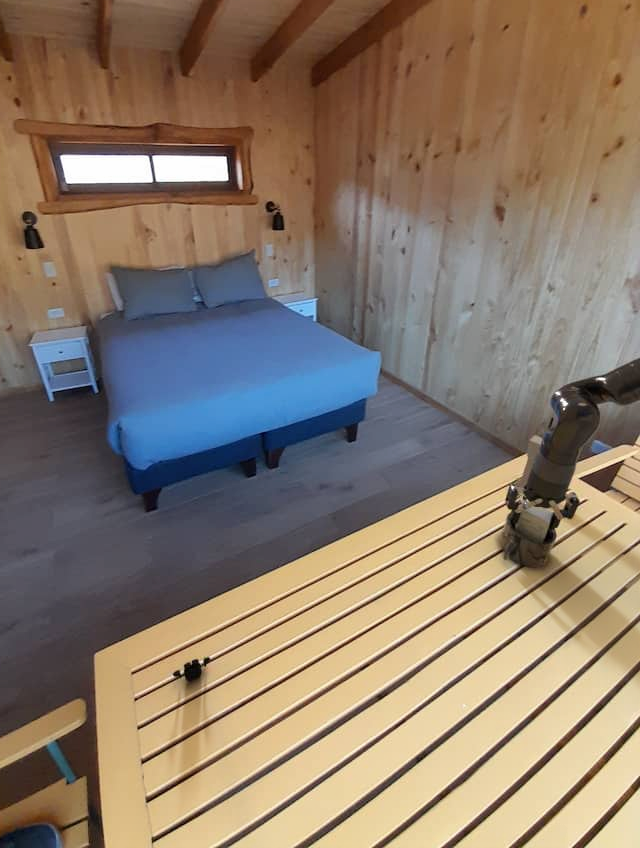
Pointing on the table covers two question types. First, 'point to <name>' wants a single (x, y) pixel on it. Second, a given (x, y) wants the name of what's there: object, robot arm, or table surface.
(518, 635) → the table surface
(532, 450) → the vintage mobile phone
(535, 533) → the cosmetic box
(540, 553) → the mug
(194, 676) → the wireless earbuds
